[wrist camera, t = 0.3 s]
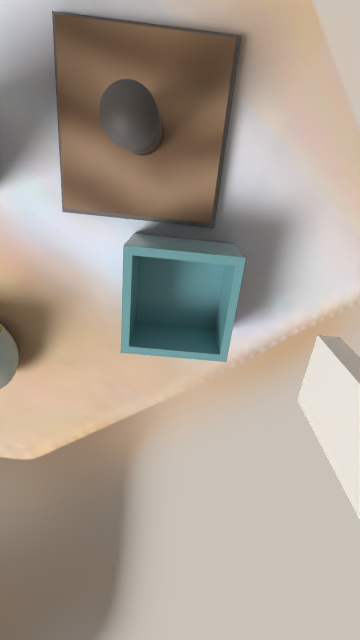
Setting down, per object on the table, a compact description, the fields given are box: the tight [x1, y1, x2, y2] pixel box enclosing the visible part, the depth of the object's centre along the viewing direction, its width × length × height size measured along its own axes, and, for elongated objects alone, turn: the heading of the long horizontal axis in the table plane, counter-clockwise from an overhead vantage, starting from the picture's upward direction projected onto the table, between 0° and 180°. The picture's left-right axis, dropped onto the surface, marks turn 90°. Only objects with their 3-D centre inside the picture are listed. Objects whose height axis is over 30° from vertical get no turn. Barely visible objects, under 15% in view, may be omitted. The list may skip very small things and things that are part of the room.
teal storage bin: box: [121, 233, 246, 362], centre depth 33 cm, size 11×11×7 cm
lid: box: [54, 14, 236, 224], centre depth 26 cm, size 15×15×9 cm
